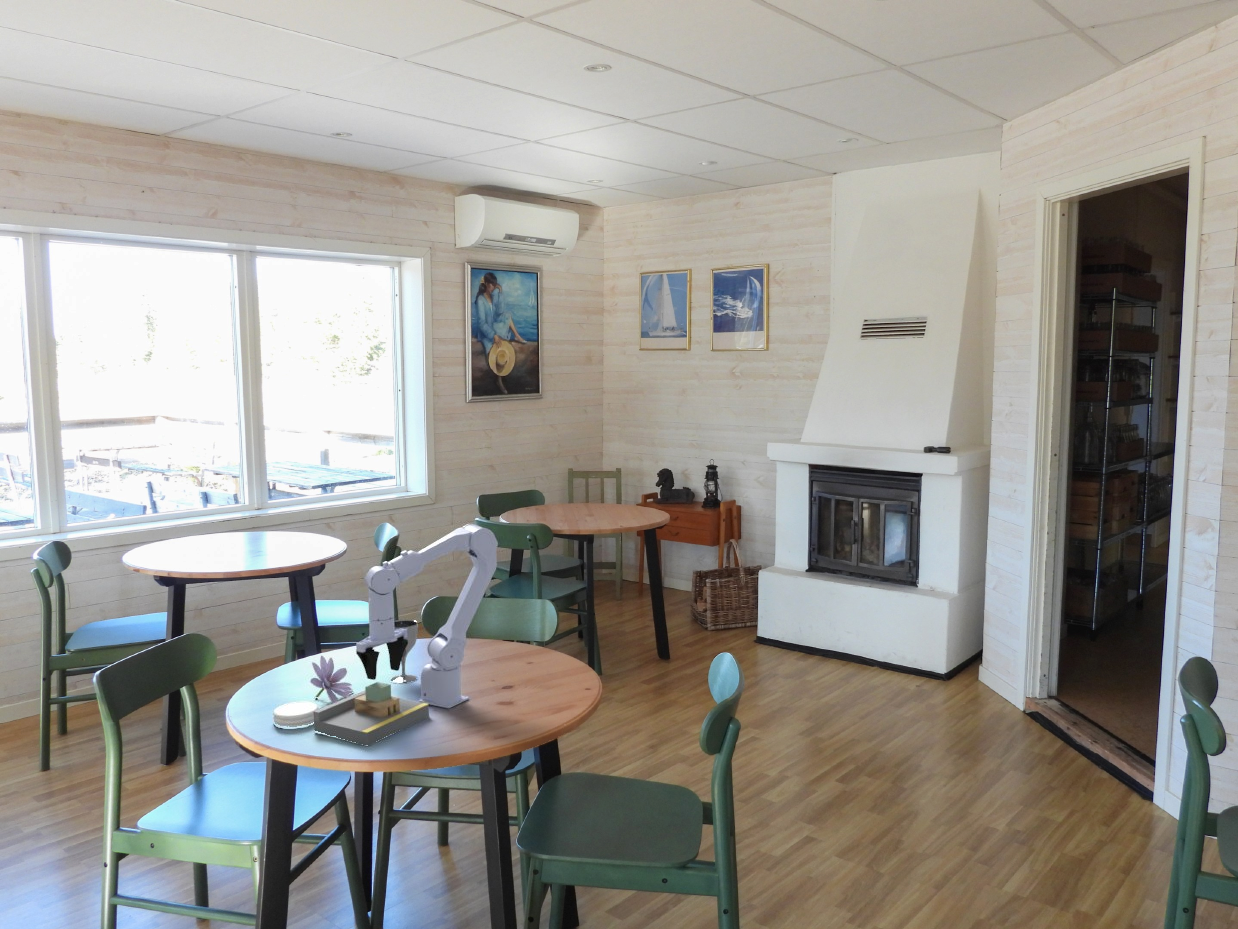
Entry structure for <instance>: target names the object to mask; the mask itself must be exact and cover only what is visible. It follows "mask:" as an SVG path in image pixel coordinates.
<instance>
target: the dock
mask: <svg viewBox="0 0 1238 929" xmlns="http://www.w3.org/2000/svg"><path fill="white" fill-rule="evenodd" d="M364 694H366V693H365V690H362V691H360V692H357V693H356V694H355V693H354V694H352V695H350V697H348V698H345V697H344V698H343V699H340V700H338V702H335V703H331V704H329V705H325V706H323V707H322V708H319V709H318V710H316V711H314V725H313V731H314V730H315V731H318V732H321V733H325V734H327V735H330V736H336V737H338V738H341V739H345V740H348V741H352V742H356V743H358V744H357V745H360V744H363V745H362V746H364V745H369V746H371V745H373V744H372V743H374V742H376V741H378V740H380V739H382V738H384V737H386V736H388V737H389V735H390V734H392V735H394V734H396V733H399V732H400V731H403V730H405V729H406V727H407V728H408V726H409V727H411V726H412V724H413V725H414V724H418V723H419V722H421V721H422V720H425V719H427V718H429V717H430V708H429V706H430V704H427V703H421V702H419V701H415V700H409V699H404V698H401V697H396V696H395V697H396V698H399V705H400V711H398V712H394V714H392V715H388V716H387V717H385V718H383V717H378V716H374V715H370V714H365V713H361V712H357V711H355V701H354V698H357V697H359V696H361V695H364ZM410 725H411V726H410ZM404 728H405V729H404ZM402 729H403V730H402ZM399 730H400V731H399ZM395 732H396V733H395ZM393 733H394V734H393ZM390 736H391V735H390ZM386 738H387V737H386ZM384 739H385V738H384ZM382 740H383V739H382ZM348 741H347V742H348ZM380 741H381V740H380ZM352 742H351V743H352ZM378 742H379V741H378ZM356 743H355V744H356ZM376 743H377V742H376ZM370 744H371V745H370ZM374 744H375V743H374Z"/></svg>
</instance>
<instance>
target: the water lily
mask: <svg viewBox="0 0 1238 929" xmlns="http://www.w3.org/2000/svg"><path fill="white" fill-rule="evenodd" d="M319 663H320V665H318V664H317V663H316V662H311V664H312V665H311V666H312V668H313V670H314V672H315V675H316V676H317V677H312V678H311V679H310V681H309V682H310V683H311V684H312V686H315V687H316V688H319V689H320V690H319V692H318V693H317V694H316V695H315V697H318V698H319V697H320V696H321V694H322V693H323V692H324V691H326V694H327V696H328V699H329V700H330V702H331V704H333V703H335V702H338V701H339V698H338V697H337V696H336V695H338V696H340V697H343V698H344V699H345V698H348V697H350V696H351V694H349V693H352V692H354V689H353V688H351V687H352V686H353V684H352V683H350V682H346V681H345V682H341V680H343V679H344V678H345V677H346V675H347V673H348V670H347V668H345V667H341V668H339V669H337V670H336V671H335V670H334V669H335V664H334V660H333V657H329V660H328V661H327V660H326V658H325V657H324V656H323V655H320V661H319ZM334 671H335V672H334Z"/></svg>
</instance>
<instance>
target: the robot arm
mask: <svg viewBox="0 0 1238 929" xmlns="http://www.w3.org/2000/svg"><path fill="white" fill-rule="evenodd" d="M498 545H499V541H498V540H497V538H496V536H495V534H494V532H493V531H492V530H490V529H488V528H486V527H482V526H479V525H478V524H475V523H466V524H465V525H463V526H462V527H458V528H456V529H454V530H453V531H451V532H450V533H448V534H445V536H443V537H441V538H440V539H438V540H436V541H435V542H432V543H430V544H429V545H428V546H425V548H422V549H421V550H419V551H414V550H409V551H407V550H403V551H401V552H400V555H399V556H397V557H394V558H393V559H392V560H389V561H386V560H385V561H384V562H382V566H381V565H377V566H373V567H371V568H370V569H369V570H368V572H366V574H365V577H364V578H363V579H364V584H365V585H366V587H368V622H369V623H368V626H369V636H367V637H366V638H364V639H362V640H360V641H359V642H356V644H355V646H356V647H355V648H356V649H355V650H356V652H355V653H356V655H357V656H358V658H359V660H360V661H361V663H362V666H363V668H364V672H365V674H366V678H367V679H368V680H373V681H375V680H376V679H377V664H378V660H379V659H378V658H379V655H380V653H381V652H380V651H376V650H375V649H374V648H376V647H380V646H382V645H386V647H387V649H388V650H387V651H388V658H389V667H390V670H391V671H399V670H400V667H401V659H402V656H403V653H404V650H405V648H406V646H407V645H408V640H406V639H404V638H406V637H407V629H397V630H395V629H394V621H395V606H394V605H395V604H394V602H395V601H394V600H395V599H394V590H395V588H396V587H397V585H399V584H400V583H403V582H405V581H407V580H408V579H410V578H412V577H414V576H416V575H418V574H419V573H422V571H423V569H424V566H425V565H426V564H428V563H430V562H432V561H435V560H436V559H438V558H442V556H445V555H447V554H449V553H451V552H453V551H462V552H467V553H468V554H469V557H470V559H471V562H472V566H473V567H472V568H471V571H470V572H469V575H468V577H467V579H466V581H465V584H464V585H463V588H462V589H461V592H460V594H459V595H458V598H457V600H456V602H455V604H454V606H453V609H452V611H451V612H450V615H449V616H448V619H447V621H446V623H445V624H444V625H442V626H441V627H440V628H439V629H438V631H437V633H436V634H435V635H434V636H432V638H431V639H430V640H429V641H428V644H427V649H426V650H427V654H428V656H429V657H430V658H431V663H427V664H426V665H424V667H423V668H422V670H421V674H420V695H421V698H420V699H419V701H418V702H420V703H427V704H429V706H436V707H440V708H445V709H451V708H453V707H455V706H457V705H459V704H461V703H462V702H463V703H464V702H466V701H468V700H469V699H470V696H468V695H462V675H461V674H462V669H461V668H462V667H461V665H462V664H461V663H462V662H463V661H464V656H465V655H464V653H465V647H466V646H467V631H468V630H469V627H470V625H471V623H472V621H473V619H474V616H475V614H476V612H477V610H478V608H479V606H480V604H481V602H482V599H483V598H484V595H485V593H486V591H487V589H488V587H489V584H490V583H491V580H492V578H493V576H494V574H495V572H496V570H497V567H498V560H497V557H498V556H497V548H498Z"/></svg>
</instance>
